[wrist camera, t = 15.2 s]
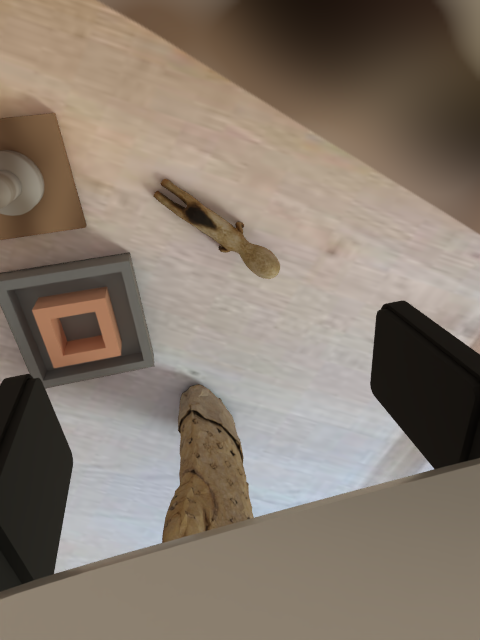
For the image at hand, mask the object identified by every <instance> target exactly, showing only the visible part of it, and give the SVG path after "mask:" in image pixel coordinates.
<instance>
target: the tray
mask: <svg viewBox="0 0 480 640" xmlns="http://www.w3.org/2000/svg"><path fill="white" fill-rule="evenodd" d="M101 287H107V288H108V292H109V296H110V299H111V303H112V307H113V311H114V314H115V318H116V322H117V325H118V329H119V333H120V337H121V340H122V347H121V356H116V357H111V358H105V359H100V360H95V361H90V362H84V363H79V364H74V365H69V366H63V367H58V368H54V367H53V364H52V362H51V359H50V356H49V354H48V351H47V348H46V346H45V343H44V341H43V338H42V335H41V333H40V330H39V327H38V325H37V322H36V320H35V317H34V314H33V312H32V309H33V307H34V305H35V303H36V301H37V299H38V298H39V297H45V296H52V295H58V294H64V293H70V292H76V291H82V290H89V289H95V288H101ZM0 305H1V307H2V310H3V312H4V314H5V317H6V319H7V321H8V324H9V326H10V328H11V331H12V333H13V335H14V338H15V340H16V342H17V345H18V347H19V349H20V352H21V354H22V356H23V359H24V361H25V363H26V366H27V368H28V370H29V373H30V375H31V376H32V377H33V378H40V379H41V381H42V383H43V385H44V387H45V388H49V387H54V386H59V385H64V384H69V383H74V382H79V381H84V380H89V379H94V378H99V377H104V376H109V375H114V374H118V373H123V372H128V371H133V370H138V369H143V368H148V367H153V366H154V354H153V350H152V345H151V341H150V337H149V333H148V328H147V324H146V320H145V316H144V311H143V307H142V303H141V298H140V294H139V290H138V286H137V281H136V277H135V273H134V269H133V264H132V260H131V256H130V253H124V254H118V255H112V256H105V257H99V258H93V259H86V260H80V261H73V262H67V263H61V264H54V265H48V266H42V267H35V268H29V269H23V270H16V271H10V272H4V273H0ZM59 319H60V322H61V325H62V327H63V330H64V333H65V336H66V339H67V341H72V340H78V339H83V338H89V337H95V336H100V335H102V333H101V330H100V326H99V323H98V319H97V316H96V313H95V312H90V313H85V314H79V315H73V316H67V317H61V318H59Z"/></svg>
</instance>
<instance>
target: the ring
mask: <svg viewBox="0 0 480 640" xmlns="http://www.w3.org/2000/svg"><path fill="white" fill-rule="evenodd" d="M32 312H33V314H34V317H35V320H36V322H37V325H38V327H39V330H40V333H41V335H42V338H43V341H44V343H45V346H46V348H47V351H48V354H49V356H50V359H51V362H52V364H53V367H54V368H58V367H63V366H69V365H74V364H79V363H84V362H90V361H95V360H100V359H105V358H111V357H116V356H121V347H122V340H121V337H120V333H119V329H118V325H117V322H116V318H115V314H114V311H113V307H112V303H111V299H110V296H109V292H108V288H107V287H101V288H95V289H89V290H82V291H76V292H70V293H64V294H58V295H52V296H45V297H39V298H38V299H37V301H36V303H35V305H34V307H33V309H32ZM90 312H95V313H96V316H97V319H98V323H99V326H100V330H101V333H102V335H100V336H95V337H89V338H83V339H78V340H72V341H67V339H66V336H65V333H64V330H63V327H62V325H61V322H60V319H59V318H61V317H67V316H73V315H79V314H85V313H90Z"/></svg>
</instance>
